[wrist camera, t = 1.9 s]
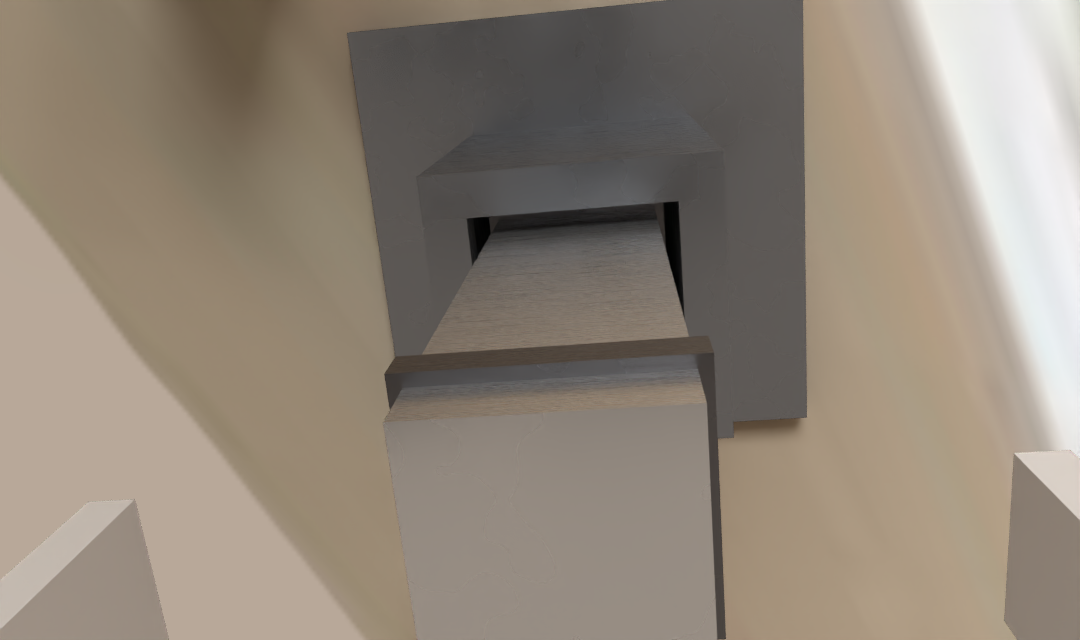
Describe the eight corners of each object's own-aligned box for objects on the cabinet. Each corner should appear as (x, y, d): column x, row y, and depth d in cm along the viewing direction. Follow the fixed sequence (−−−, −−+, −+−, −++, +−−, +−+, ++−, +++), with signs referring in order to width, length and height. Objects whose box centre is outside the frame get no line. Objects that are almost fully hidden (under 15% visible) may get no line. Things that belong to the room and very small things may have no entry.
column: (514, 174, 34) (363, 407, 13) (650, 162, 33) (724, 384, 12) (527, 303, 35) (411, 703, 14) (658, 294, 35) (736, 693, 14)
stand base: (354, 32, 34) (228, 33, 23) (796, -13, 32) (898, -36, 21) (412, 430, 38) (332, 594, 27) (801, 407, 37) (886, 571, 26)
